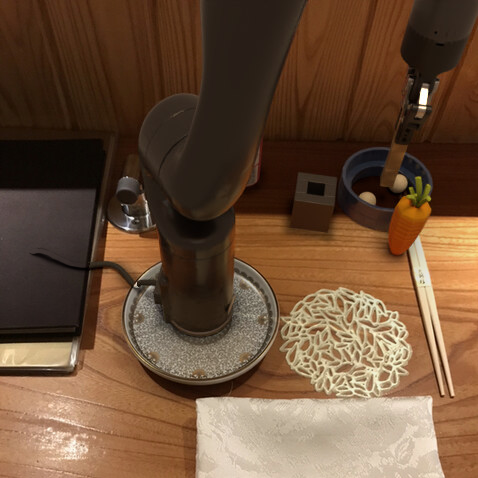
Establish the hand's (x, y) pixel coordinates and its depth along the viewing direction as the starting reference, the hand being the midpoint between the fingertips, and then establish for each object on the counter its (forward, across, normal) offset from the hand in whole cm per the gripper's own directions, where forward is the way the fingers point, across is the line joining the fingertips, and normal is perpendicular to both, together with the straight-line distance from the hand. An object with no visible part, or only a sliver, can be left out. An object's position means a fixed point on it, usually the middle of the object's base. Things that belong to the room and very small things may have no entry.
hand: (401, 136), depth 82 cm
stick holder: (+13, +6, -11) cm, 18 cm away
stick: (+9, 0, 0) cm, 9 cm away
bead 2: (+11, -2, +2) cm, 12 cm away
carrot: (+14, +11, +3) cm, 18 cm away
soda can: (+14, -1, -23) cm, 27 cm away
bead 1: (+11, +2, -3) cm, 12 cm away
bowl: (+14, 0, 0) cm, 14 cm away
